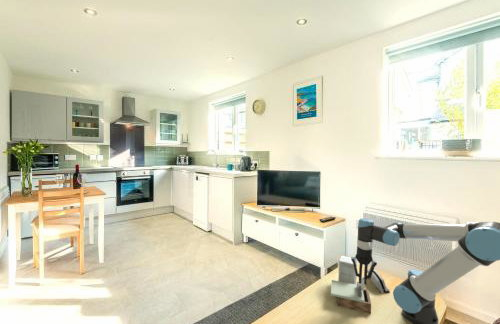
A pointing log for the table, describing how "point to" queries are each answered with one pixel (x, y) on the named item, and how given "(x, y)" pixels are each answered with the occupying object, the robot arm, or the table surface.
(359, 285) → the lid
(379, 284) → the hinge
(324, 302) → the table surface
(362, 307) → the brown wooden box
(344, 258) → the supplement box
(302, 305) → the table surface
